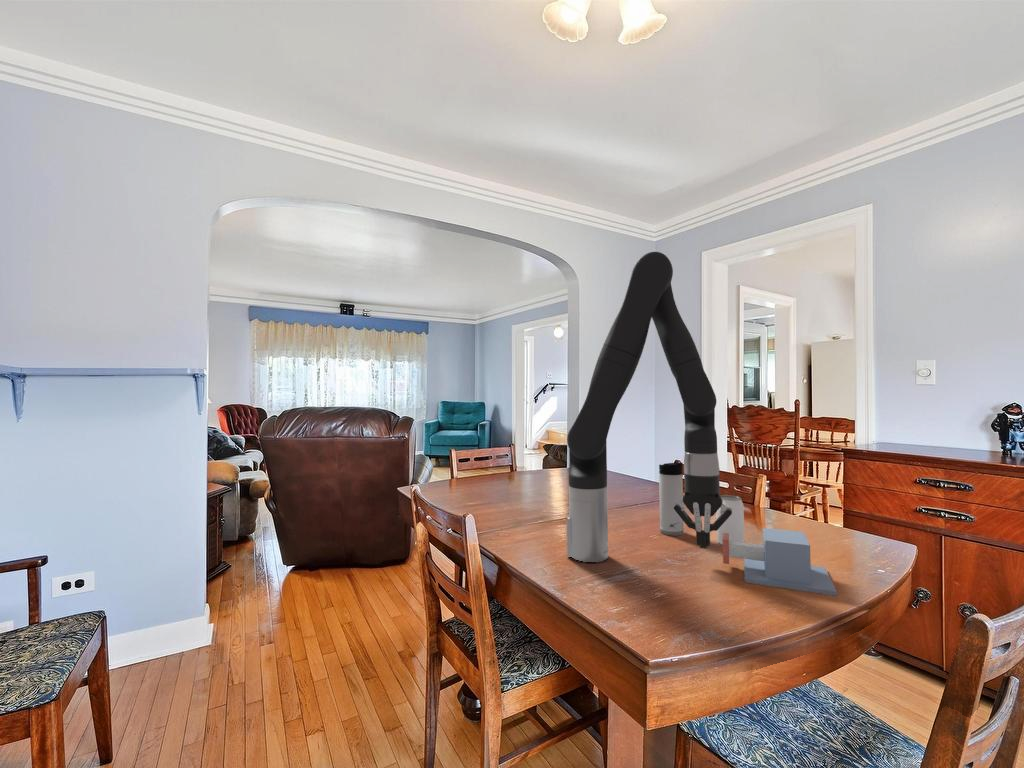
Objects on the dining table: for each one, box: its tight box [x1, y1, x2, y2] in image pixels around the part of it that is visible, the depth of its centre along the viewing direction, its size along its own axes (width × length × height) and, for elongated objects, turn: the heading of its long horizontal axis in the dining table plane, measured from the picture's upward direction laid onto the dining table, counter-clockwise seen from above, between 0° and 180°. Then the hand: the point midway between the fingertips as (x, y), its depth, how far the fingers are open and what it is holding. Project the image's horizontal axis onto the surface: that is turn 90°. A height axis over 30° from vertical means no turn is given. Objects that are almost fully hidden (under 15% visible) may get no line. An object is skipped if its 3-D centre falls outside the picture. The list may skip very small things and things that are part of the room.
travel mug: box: [658, 462, 685, 537], centre depth 133 cm, size 6×7×20 cm
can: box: [716, 494, 745, 546], centre depth 123 cm, size 6×6×12 cm
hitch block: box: [743, 527, 838, 597], centre depth 101 cm, size 16×14×9 cm
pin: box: [722, 533, 765, 565], centre depth 103 cm, size 13×5×5 cm, turn 64°
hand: (703, 547), depth 108 cm, fingers closed
